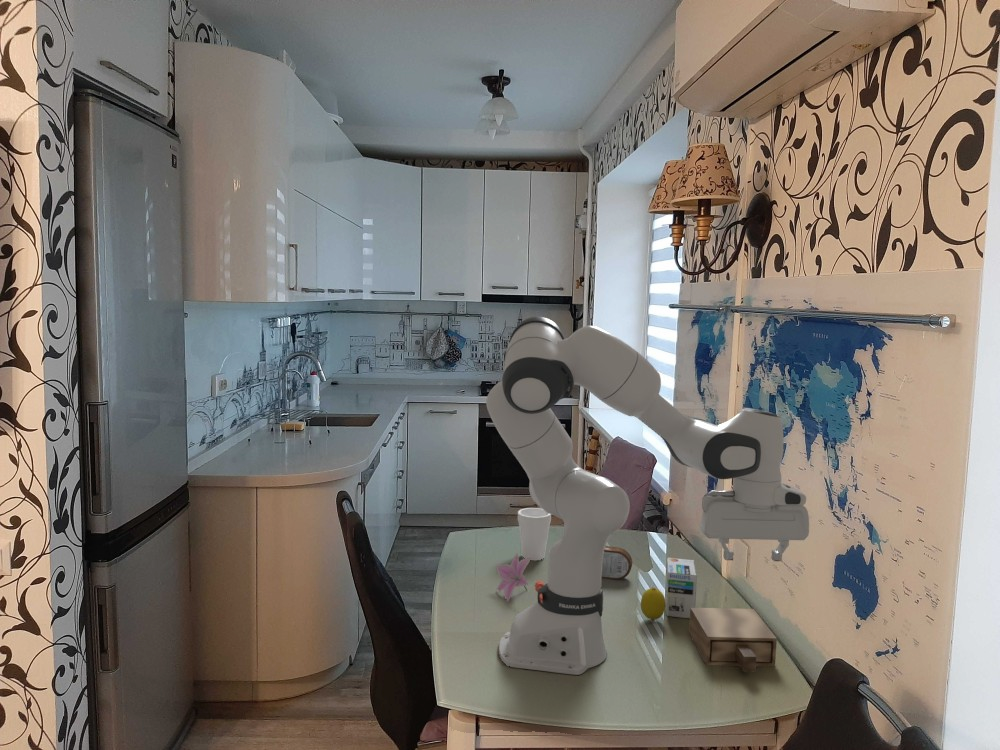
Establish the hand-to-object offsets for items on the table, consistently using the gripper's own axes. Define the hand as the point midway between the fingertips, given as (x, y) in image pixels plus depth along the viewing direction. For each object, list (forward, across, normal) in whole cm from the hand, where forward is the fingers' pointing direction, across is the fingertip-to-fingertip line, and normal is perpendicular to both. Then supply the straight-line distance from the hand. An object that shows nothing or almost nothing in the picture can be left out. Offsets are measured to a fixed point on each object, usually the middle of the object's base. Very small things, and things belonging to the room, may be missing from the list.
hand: (752, 559), depth 144 cm
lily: (+24, -46, +36) cm, 64 cm away
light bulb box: (+24, -6, +30) cm, 38 cm away
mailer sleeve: (+23, 0, +10) cm, 25 cm away
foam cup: (+24, -40, +63) cm, 78 cm away
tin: (+24, -22, +49) cm, 59 cm away
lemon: (+24, -14, +23) cm, 36 cm away
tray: (+22, 0, +7) cm, 24 cm away
